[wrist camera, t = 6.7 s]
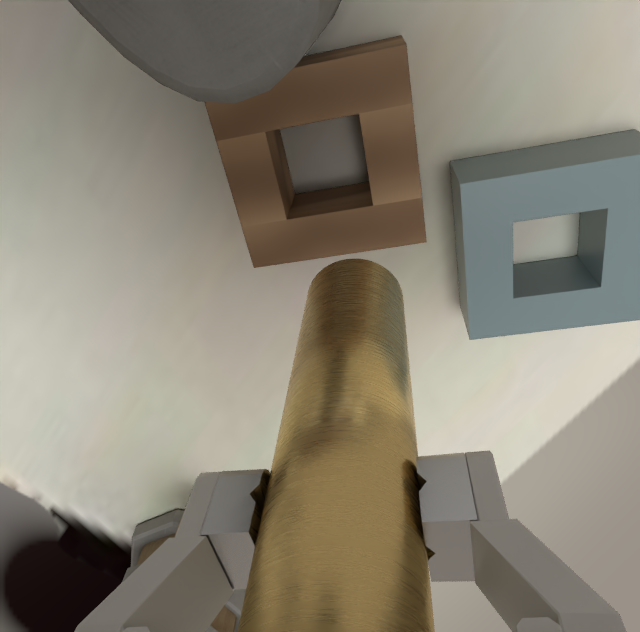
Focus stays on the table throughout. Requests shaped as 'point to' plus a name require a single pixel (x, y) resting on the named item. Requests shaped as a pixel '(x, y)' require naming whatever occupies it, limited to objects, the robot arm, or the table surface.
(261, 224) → the walnut mount
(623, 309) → the slate socket block
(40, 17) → the table surface
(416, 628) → the brass peg
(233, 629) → the tankard
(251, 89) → the flask
